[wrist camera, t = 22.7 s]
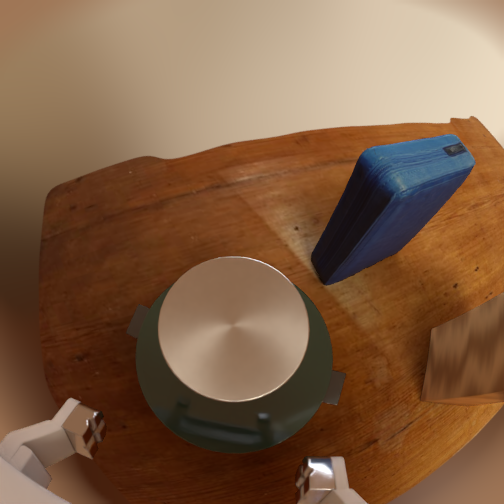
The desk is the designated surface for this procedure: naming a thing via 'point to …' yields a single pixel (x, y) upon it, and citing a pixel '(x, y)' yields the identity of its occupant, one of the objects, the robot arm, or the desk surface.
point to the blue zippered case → (389, 202)
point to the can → (233, 329)
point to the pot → (235, 413)
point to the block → (467, 358)
